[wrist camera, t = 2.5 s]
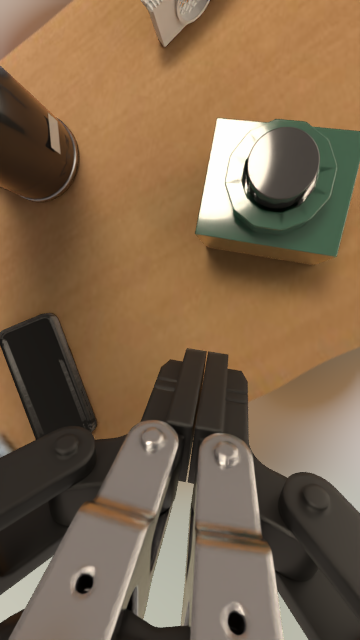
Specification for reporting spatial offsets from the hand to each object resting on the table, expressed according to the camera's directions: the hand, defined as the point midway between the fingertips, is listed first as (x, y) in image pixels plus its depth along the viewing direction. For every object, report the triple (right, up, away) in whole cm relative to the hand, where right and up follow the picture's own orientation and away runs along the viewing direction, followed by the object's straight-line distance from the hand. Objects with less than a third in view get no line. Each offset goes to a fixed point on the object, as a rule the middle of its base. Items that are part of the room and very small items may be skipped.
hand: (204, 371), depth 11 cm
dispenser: (+8, +13, +20) cm, 25 cm away
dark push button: (+6, +12, +11) cm, 17 cm away
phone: (-17, -5, +27) cm, 32 cm away
